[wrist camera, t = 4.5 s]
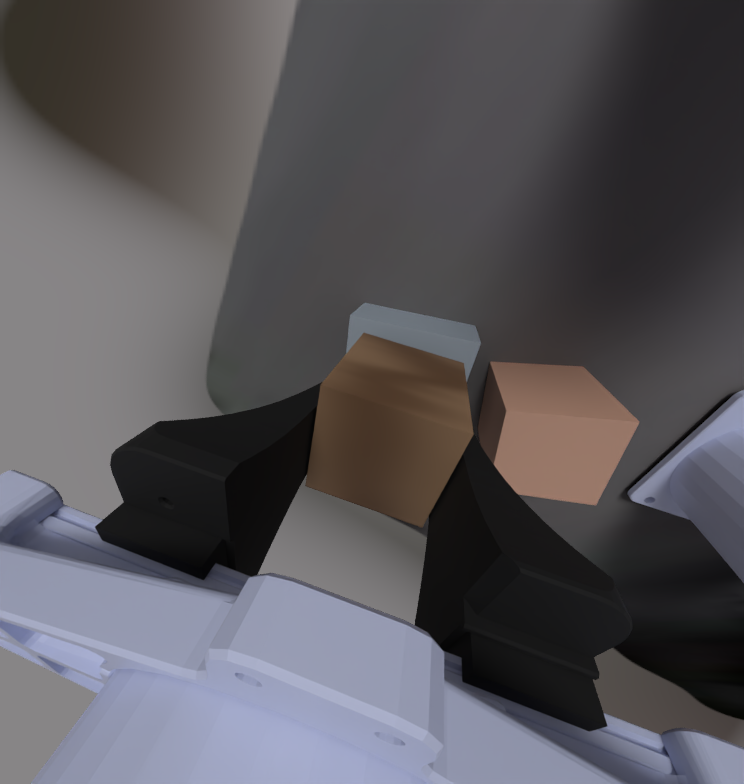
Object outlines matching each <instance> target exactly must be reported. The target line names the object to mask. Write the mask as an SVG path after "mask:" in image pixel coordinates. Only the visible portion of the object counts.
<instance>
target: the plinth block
mask: <svg viewBox="0 0 744 784" xmlns="http://www.w3.org/2000/svg"><path fill="white" fill-rule="evenodd" d="M363 333H367V334H370V335H374V336H377V337H380V338H383V339H387V340H390V341H393V342H397V343H400V344H403V345H406V346H410V347H413V348H416V349H419V350H423V351H426V352H429V353H433V354H436V355H439V356H442V357H446V358H449V359H452V360H456V361H459V362H462V363H464V368H465V375H466V382H467V380H468V377H469V374H470V372H471V369H472V366H473V363H474V361H475V358H476V355H477V353H478V350H479V347H480V345H481V342H480V339H479V335H478V332H477V329H476V326H474V325H469V324H464V323H460V322H455V321H450V320H445V319H440V318H435V317H431V316H426V315H421V314H416V313H411V312H407V311H402V310H397V309H392V308H387V307H382V306H378V305H373V304H368V303H364V304H363V305H361V306H360V307H359V308H358V309H357V310H356V311H354V312H353V313H352V314H351V315H350V322H349V331H348V341H347V350H346V354H347V352H348V351H349V350H350V349H351V347H352V346H353V345H354V344H355V343H356V341H357V340H358V339H359V338H360V337H361V335H362V334H363Z"/></svg>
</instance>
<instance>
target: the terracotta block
mask: <svg viewBox="0 0 744 784" xmlns="http://www.w3.org/2000/svg"><path fill="white" fill-rule="evenodd" d="M638 424H639V421H638V420H637V419H636V418H635V417H634V416H633V415H632V414H631V413H630V412H629V411H628V410H627V409H626V408H625V407H624V406H623V405H622V404H621V403H620V402H619V401H618V400H617V399H616V398H615V397H614V396H613V395H612V394H611V393H610V392H609V391H608V390H607V389H606V388H605V387H604V386H603V385H602V384H601V383H600V382H599V381H598V380H597V379H595V378H594V377H593V376H592V375H591V374H590V373H589V372H588V371H587V370H586V369H585V368H584V367H583V366H564V365H545V364H526V363H507V362H490V364H489V370H488V375H487V380H486V386H485V391H484V397H483V402H482V408H481V413H480V419H479V424H478V433H479V439H480V445H481V446H482V448H483V450H484V451H485V453H486V454H487V456H488V457H489V459H490V460H491V462H492V463H493V464H494V466H495V467H496V468H497V470H498V471H499V473H500V474H501V475H502V476H503V478H504V479H505V480H506V481H507V483H508V484H509V485H510V486H511V487H512V488H513V490H514V491H515V492H516V493H517V494H519V495H526V496H533V497H540V498H547V499H554V500H561V501H568V502H575V503H582V504H589V505H596V504H597V502H598V500H599V498H600V496H601V494H602V493H603V491H604V489H605V487H606V485H607V483H608V481H609V479H610V477H611V476H612V474H613V472H614V470H615V468H616V466H617V464H618V462H619V460H620V458H621V457H622V455H623V453H624V451H625V449H626V447H627V445H628V443H629V441H630V439H631V438H632V436H633V434H634V432H635V430H636V428H637V426H638Z"/></svg>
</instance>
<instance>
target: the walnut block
mask: <svg viewBox="0 0 744 784" xmlns="http://www.w3.org/2000/svg"><path fill="white" fill-rule="evenodd" d="M473 435H474V434H473V426H472V419H471V412H470V404H469V397H468V390H467V382H466V375H465V368H464V363H462V362H459V361H456V360H452V359H449V358H446V357H442V356H439V355H436V354H433V353H429V352H426V351H423V350H419V349H416V348H413V347H410V346H406V345H403V344H400V343H397V342H393V341H390V340H387V339H383V338H380V337H377V336H374V335H370V334H367V333H363V334H362V335H361V337H360V338H359V339H358V340H357V341H356V343H355V344H354V345H353V346H352V347H351V349H350V350H349V351H348V352H347V354H346V355H345V356H344V357H343V358H342V360H341V361H340V362H339V363H338V364H337V366H336V367H335V368H334V369H333V370H332V372H331V373H330V374H329V375H328V376H327V378H326V379H325V380H324V381H323V383H322V384H321V386H320V392H319V399H318V406H317V412H316V419H315V426H314V432H313V439H312V446H311V452H310V459H309V465H308V472H307V479H306V486H307V487H310V488H312V489H315V490H318V491H321V492H324V493H326V494H329V495H332V496H335V497H338V498H340V499H343V500H346V501H349V502H352V503H354V504H357V505H360V506H363V507H366V508H369V509H371V510H374V511H377V512H380V513H383V514H385V515H388V516H391V517H394V518H397V519H399V520H402V521H405V522H408V523H411V524H413V525H416V526H419V527H423V525H424V523H425V521H426V520H427V518H428V516H429V514H430V512H431V510H432V509H433V507H434V505H435V503H436V501H437V500H438V498H439V496H440V494H441V492H442V491H443V489H444V487H445V485H446V483H447V482H448V480H449V478H450V476H451V474H452V472H453V471H454V469H455V467H456V465H457V463H458V462H459V460H460V458H461V456H462V454H463V453H464V451H465V449H466V447H467V445H468V444H469V442H470V440H471V438H472V436H473Z"/></svg>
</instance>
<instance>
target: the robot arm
mask: <svg viewBox="0 0 744 784" xmlns="http://www.w3.org/2000/svg"><path fill="white" fill-rule="evenodd" d="M322 383H323V382H321V383H320V384H318V385H316V386H314V387H312V388H310V389H307V390H305V391H303V392H301V393H299V394H296V395H294V396H291V397H289V398H287V399H284V400H282V401H279V402H276V403H273V404H270V405H266V406H263V407H260V408H256V409H251V410H247V411H242V412H238V413H233V414H228V415H222V416H215V417H209V418H199V419H189V420H174V421H159V422H157V423H155V424H154V425H152V426H151V427H149V428H148V429H146V430H145V431H143V432H142V433H140V434H139V435H137V436H136V437H134V438H133V439H131V440H130V441H128V442H127V443H125V444H123V445H122V446H120V447H119V448H118V449H116V450H115V451H114V453H113V454H112V456H111V464H110V466H111V470H112V473H113V476H114V478H115V481H116V483H117V486H118V488H119V491H120V493H121V496H122V498H123V501H124V503H123V504H121V505H120V506H119V507H118V508H117V509H116V510H114V511H113V512H112V513H111V514H110V515H108V516H107V517H106V518H105V519H100V518H97V517H95V516H92V515H90V514H87V513H84V512H82V511H79V510H77V509H74V508H72V507H69V506H66V505H64V504H63V500H62V497H61V496H60V494H59V492H58V491H57V490H56V489H55V488H54V487H52V486H51V485H50V484H48V483H46V482H44V481H41V480H39V479H36V478H34V477H31V476H28V475H26V474H23V473H21V472H18V471H15V470H9V471H7V472H5V473H3V474H1V475H0V646H1V647H2V648H4V649H7V650H9V651H11V652H13V653H15V654H17V655H19V656H21V657H23V658H25V659H27V660H29V661H31V662H33V663H36V664H38V665H40V666H42V667H44V668H46V669H48V670H50V671H52V672H54V673H56V674H58V675H60V676H62V677H64V678H66V679H68V680H70V681H72V682H75V683H77V684H79V685H81V686H83V687H85V688H87V689H89V690H91V691H93V692H95V693H97V694H98V695H97V696H96V697H95V699H94V700H93V701H92V703H91V704H90V705H89V707H88V708H87V709H86V711H85V712H84V713H83V714H82V716H81V717H80V719H79V720H78V721H77V722H76V724H75V725H74V726H73V728H72V729H71V731H70V732H69V733H68V735H67V736H66V737H65V738H64V740H63V741H62V742H61V744H60V745H59V747H58V748H57V749H56V750H55V752H54V753H53V754H52V756H51V757H50V758H49V760H48V761H47V762H46V764H45V765H44V766H43V768H42V769H41V770H40V772H39V773H38V774H37V776H36V777H35V778H34V780H33V781H32V782H31V784H744V747H741V746H738V745H736V744H733V743H730V742H728V741H725V740H723V739H720V738H717V737H715V736H712V735H709V734H707V733H704V732H701V731H698V730H694V729H688V728H675V729H671V730H667V731H665V732H663V733H662V735H660V734H658V733H655V732H653V731H650V730H648V729H645V728H642V727H640V726H637V725H635V724H632V723H629V722H627V721H624V720H621V719H619V718H616V717H614V716H611V715H609V714H606V713H603V710H602V707H601V704H600V701H599V698H598V695H597V692H596V689H595V686H594V683H593V679H595V680H596V679H598V678H599V671H598V668H597V665H596V663H595V660H594V657H595V656H597V655H599V654H601V653H603V652H605V651H607V650H608V649H611V648H612V647H614V646H616V645H618V644H620V643H621V642H623V641H624V640H625V639H627V637H628V636H629V634H630V632H631V630H632V628H633V625H632V619H631V617H630V614H629V612H628V610H627V608H626V606H625V604H624V602H623V600H622V598H621V596H620V593H619V591H618V589H617V587H616V585H615V583H614V581H613V579H612V578H611V577H610V576H608V575H607V574H606V573H604V572H603V571H602V570H601V569H599V568H598V567H597V566H596V565H594V564H593V563H592V562H591V561H589V560H588V559H587V558H585V557H584V556H583V555H582V554H580V553H579V552H578V551H577V550H575V549H574V548H573V547H572V546H571V545H569V544H568V543H567V542H566V541H565V540H564V539H563V538H562V537H560V536H559V535H558V534H557V533H556V532H555V531H554V530H552V529H551V528H550V527H549V526H548V525H547V524H546V523H545V522H544V521H543V520H542V519H541V518H540V517H539V516H538V515H537V514H536V513H535V512H534V511H533V510H532V509H531V508H530V507H529V506H528V505H527V504H526V503H525V502H524V501H523V500H522V499H521V498H520V497H519V495H518V494H517V493H516V492H515V491H514V490H513V488H512V487H511V486H510V485H509V484H508V483H507V481H506V480H505V479H504V478H503V476H502V475H501V474H500V473H499V471H498V470H497V468H496V467H495V466H494V464H493V463H492V462H491V460H490V459H489V457H488V456H487V454H486V453H485V451H484V450H483V448H482V446H481V445H480V443H479V442H478V440H477V438H476V437H475V435H473V436H472V438H471V440H470V442H469V444H468V445H467V447H466V449H465V451H464V453H463V454H462V456H461V458H460V460H459V462H458V463H457V465H456V467H455V469H454V471H453V472H452V474H451V476H450V478H449V480H448V482H447V483H446V485H445V487H444V489H443V491H442V492H441V494H440V496H439V498H438V500H437V501H436V503H435V505H434V507H433V509H432V510H431V512H430V514H429V525H428V536H427V544H426V552H425V561H424V568H423V574H422V581H421V589H420V594H419V601H418V607H417V614H416V619H415V625H413V624H411V623H409V622H407V621H405V620H403V619H400V618H397V617H395V616H392V615H389V614H387V613H384V612H382V611H379V610H376V609H374V608H371V607H368V606H366V605H363V604H360V603H358V602H355V601H353V600H350V599H347V598H345V597H342V596H340V595H337V594H334V593H332V592H329V591H326V590H324V589H321V588H319V587H316V586H313V585H311V584H308V583H305V582H303V581H300V580H297V579H294V578H291V577H287V576H282V575H278V574H274V573H268V574H260V575H257V574H258V572H259V570H260V568H261V565H262V563H263V561H264V559H265V556H266V554H267V552H268V550H269V548H270V546H271V544H272V542H273V540H274V537H275V535H276V533H277V531H278V529H279V527H280V525H281V523H282V521H283V519H284V517H285V515H286V513H287V511H288V508H289V506H290V504H291V502H292V500H293V498H294V497H295V494H296V493H297V490H298V489H299V486H300V485H301V483H302V481H303V480H304V478H305V476H306V475H307V472H308V465H309V459H310V452H311V446H312V439H313V432H314V426H315V419H316V412H317V406H318V399H319V392H320V386H321V384H322ZM473 434H474V433H473ZM628 496H629V497H630V499H631V500H632V501H634V502H636V503H639V504H643V505H646V506H649V507H652V508H655V509H658V510H661V511H664V512H667V513H670V514H673V515H676V516H680V517H683V518H686V519H689V520H691V521H692V522H693V523H694V525H695V526H696V527H697V528H698V529H699V531H700V532H701V533H702V534H703V535H704V536H705V538H706V539H707V540H708V541H709V542H710V544H711V545H712V546H713V547H714V548H715V549H716V551H717V552H718V553H719V554H720V555H721V557H722V558H723V559H724V560H725V561H726V562H727V564H728V565H729V566H730V567H731V568H732V570H733V571H734V572H735V573H736V574H737V576H738V577H739V578H740V579H741V580H742V581H743V583H744V390H742V391H740V392H737V393H736V394H734V395H733V396H732V397H731V398H730V399H728V400H727V401H726V402H725V403H724V404H723V405H722V406H721V407H720V408H719V409H718V410H716V411H715V412H714V413H713V414H712V415H711V416H710V417H709V418H708V419H707V420H705V421H704V422H703V423H702V424H701V425H700V426H699V427H698V428H697V429H696V430H694V431H693V432H692V433H691V434H690V435H689V436H688V437H687V438H686V439H685V440H683V441H682V442H681V443H680V444H679V445H678V446H677V447H676V448H675V449H674V450H672V451H671V452H670V453H669V454H668V455H667V456H666V457H665V458H664V459H663V460H661V461H660V462H659V463H658V464H657V465H656V466H655V467H654V468H653V469H652V470H651V471H649V472H648V473H647V474H646V475H645V476H644V477H643V478H642V479H641V480H640V481H638V482H637V483H636V484H635V485H634V486H633V487H632V488H631V489H630V490H629V491H628ZM647 497H648V498H647Z"/></svg>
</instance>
